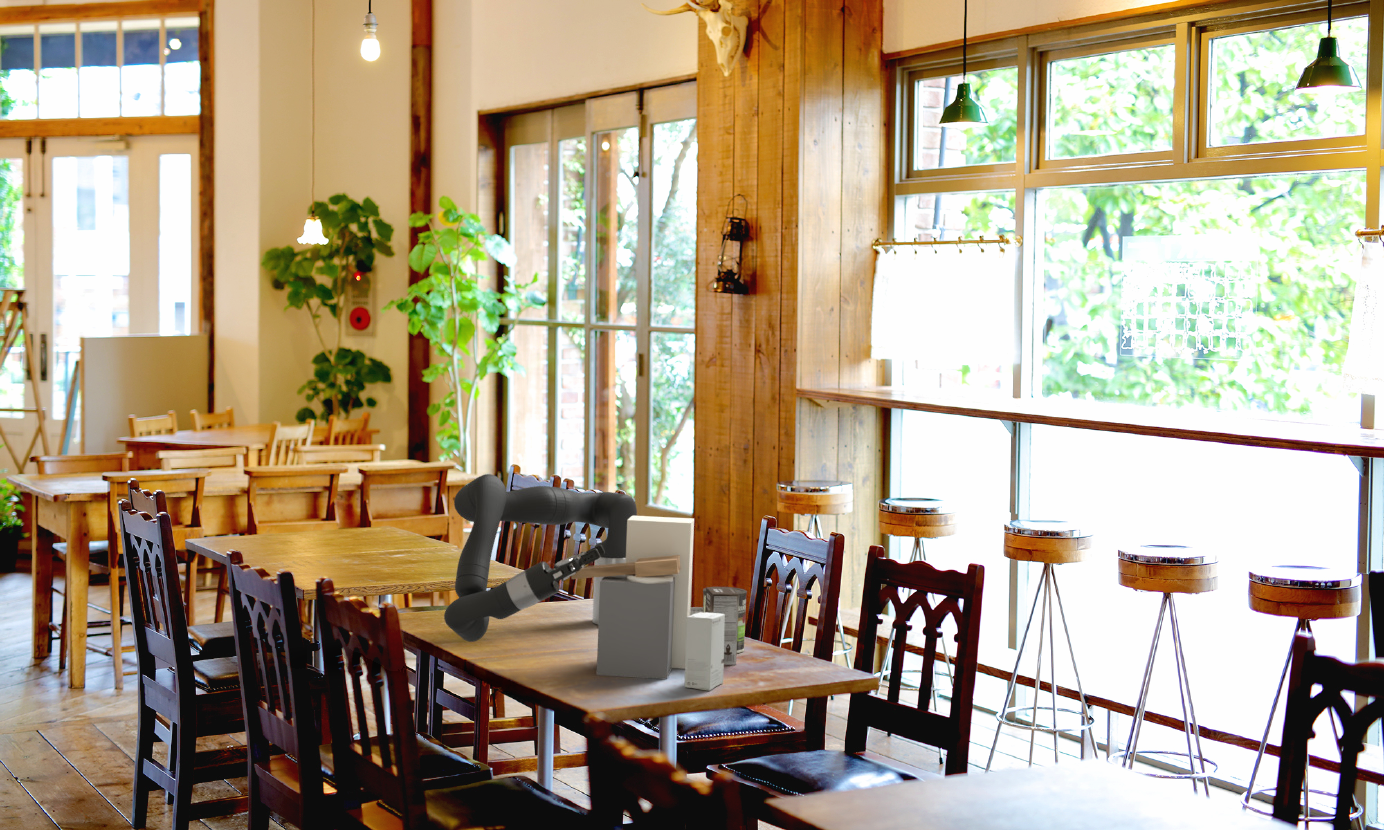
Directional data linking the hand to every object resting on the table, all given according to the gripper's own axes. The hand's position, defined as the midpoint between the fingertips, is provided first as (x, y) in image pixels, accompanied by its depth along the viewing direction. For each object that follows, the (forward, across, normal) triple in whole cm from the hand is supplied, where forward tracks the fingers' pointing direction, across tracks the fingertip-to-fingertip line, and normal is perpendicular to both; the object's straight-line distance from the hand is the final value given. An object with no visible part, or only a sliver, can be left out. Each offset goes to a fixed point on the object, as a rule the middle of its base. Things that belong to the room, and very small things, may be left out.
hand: (600, 550), depth 281 cm
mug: (+4, +40, +32) cm, 51 cm away
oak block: (+2, 0, +7) cm, 8 cm away
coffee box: (+9, +16, +35) cm, 40 cm away
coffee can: (+9, +28, +35) cm, 46 cm away
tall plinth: (-3, +10, +28) cm, 30 cm away
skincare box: (+8, -8, +34) cm, 36 cm away
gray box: (-6, 0, +26) cm, 27 cm away
